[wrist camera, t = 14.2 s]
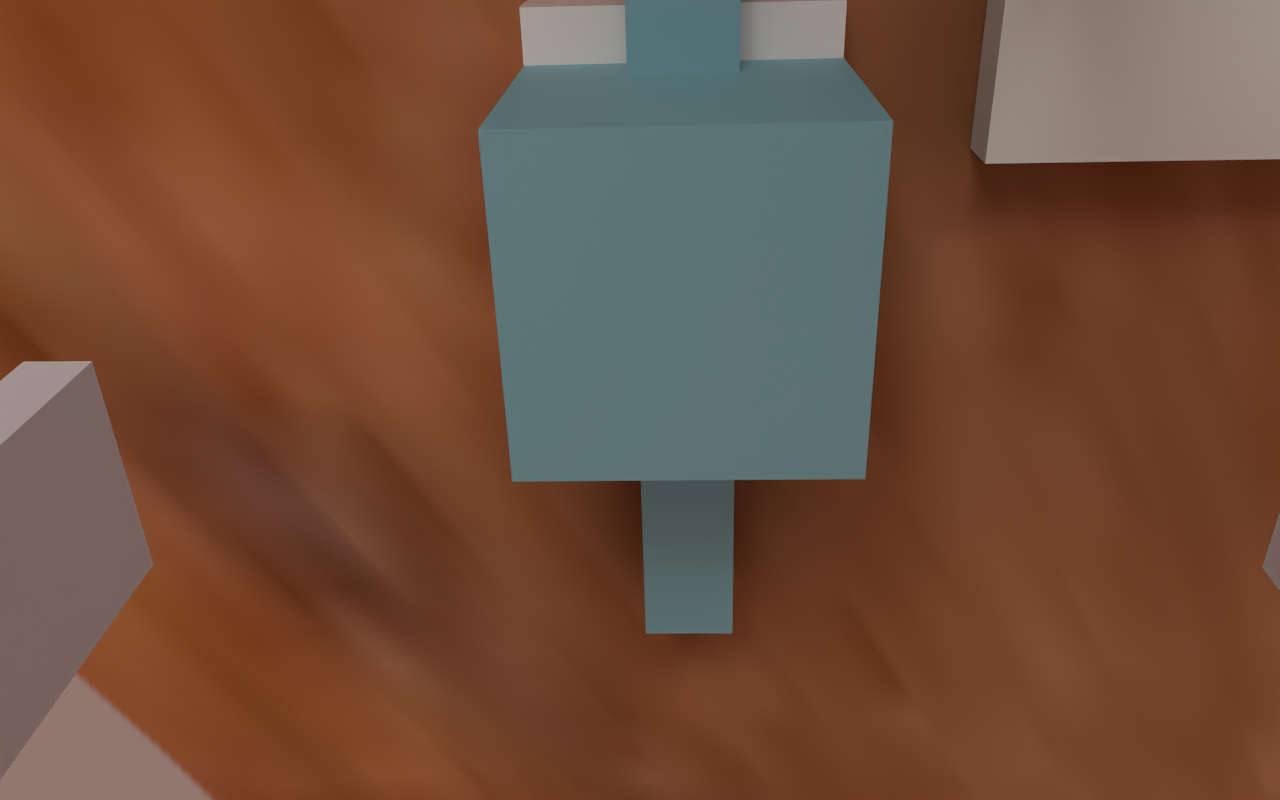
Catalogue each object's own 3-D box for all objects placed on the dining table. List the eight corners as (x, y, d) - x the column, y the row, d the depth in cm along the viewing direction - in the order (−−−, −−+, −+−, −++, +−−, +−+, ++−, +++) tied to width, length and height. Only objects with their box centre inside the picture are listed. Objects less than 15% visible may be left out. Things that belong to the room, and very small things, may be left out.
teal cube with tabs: (564, 601, 26) (539, 764, 21) (491, -359, 17) (422, -436, 13) (813, 601, 26) (842, 765, 21) (868, -375, 17) (938, -458, 12)
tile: (526, 0, 21) (519, 7, 20) (839, -7, 20) (847, 0, 19) (552, 374, 24) (547, 394, 23) (818, 372, 24) (823, 392, 23)
